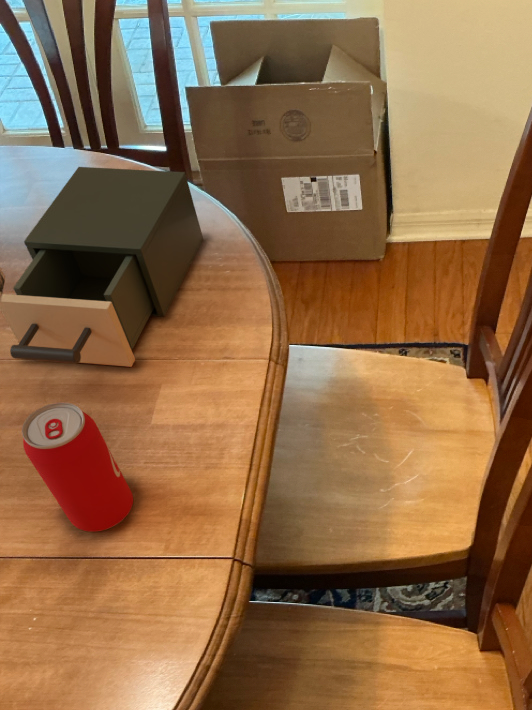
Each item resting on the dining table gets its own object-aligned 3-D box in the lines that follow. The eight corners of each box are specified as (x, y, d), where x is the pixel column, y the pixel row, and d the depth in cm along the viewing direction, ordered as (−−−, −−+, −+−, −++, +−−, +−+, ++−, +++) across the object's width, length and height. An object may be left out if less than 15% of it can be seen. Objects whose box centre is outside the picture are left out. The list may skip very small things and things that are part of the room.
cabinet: (165, 320, 91) (140, 248, 83) (58, 312, 92) (23, 241, 85) (204, 243, 100) (185, 171, 92) (105, 237, 101) (78, 166, 94)
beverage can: (131, 478, 77) (87, 390, 67) (139, 525, 73) (93, 439, 64) (68, 495, 76) (13, 408, 66) (72, 543, 72) (16, 459, 63)
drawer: (115, 397, 82) (89, 340, 76) (8, 388, 84) (-27, 331, 77) (173, 285, 93) (154, 227, 87) (77, 279, 95) (51, 221, 88)
